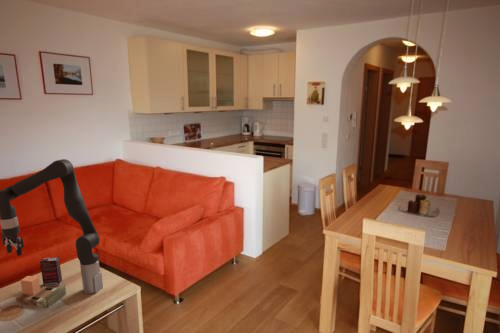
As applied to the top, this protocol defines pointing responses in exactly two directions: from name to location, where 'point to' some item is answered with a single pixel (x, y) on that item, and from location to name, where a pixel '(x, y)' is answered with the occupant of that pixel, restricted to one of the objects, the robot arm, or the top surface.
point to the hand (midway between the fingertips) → (14, 253)
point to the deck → (43, 296)
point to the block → (30, 285)
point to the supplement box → (51, 271)
